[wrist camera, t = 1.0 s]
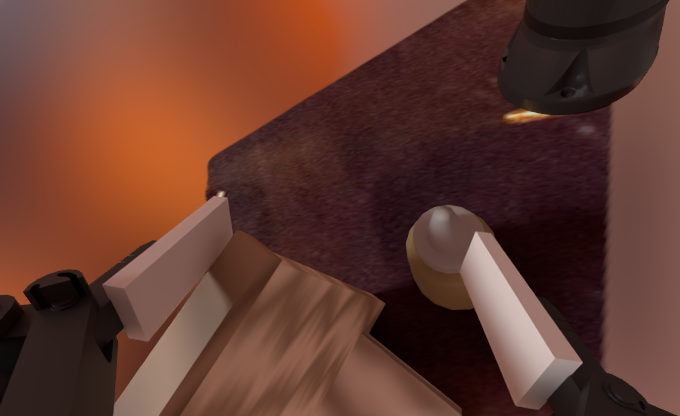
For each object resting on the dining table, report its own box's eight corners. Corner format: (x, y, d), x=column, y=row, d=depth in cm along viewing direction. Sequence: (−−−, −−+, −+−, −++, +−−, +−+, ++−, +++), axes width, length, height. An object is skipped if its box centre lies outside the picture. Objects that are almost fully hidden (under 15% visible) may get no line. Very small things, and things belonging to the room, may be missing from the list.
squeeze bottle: (506, 259, 28) (556, 175, 13) (476, 328, 26) (493, 323, 12) (434, 230, 32) (410, 142, 17) (405, 288, 31) (351, 247, 16)
